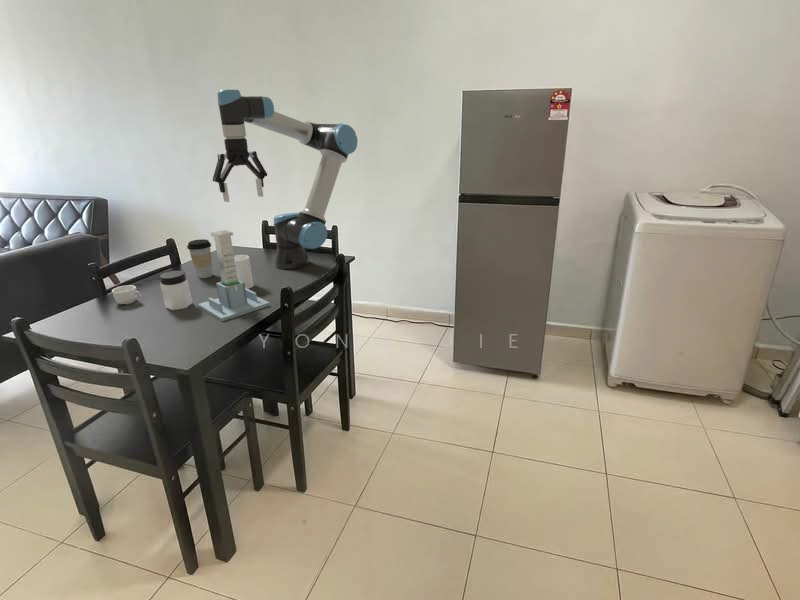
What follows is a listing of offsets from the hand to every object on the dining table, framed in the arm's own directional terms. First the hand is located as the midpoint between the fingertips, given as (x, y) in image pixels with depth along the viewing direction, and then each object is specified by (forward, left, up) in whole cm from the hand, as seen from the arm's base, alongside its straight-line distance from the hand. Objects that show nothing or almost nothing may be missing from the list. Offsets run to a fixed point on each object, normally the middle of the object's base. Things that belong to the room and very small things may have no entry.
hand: (244, 198), depth 167 cm
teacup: (+40, -21, -35) cm, 57 cm away
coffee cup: (+8, -29, -35) cm, 46 cm away
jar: (+29, -4, -35) cm, 46 cm away
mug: (+5, -4, -35) cm, 35 cm away
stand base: (+16, +12, -35) cm, 40 cm away
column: (+16, +12, -27) cm, 34 cm away
